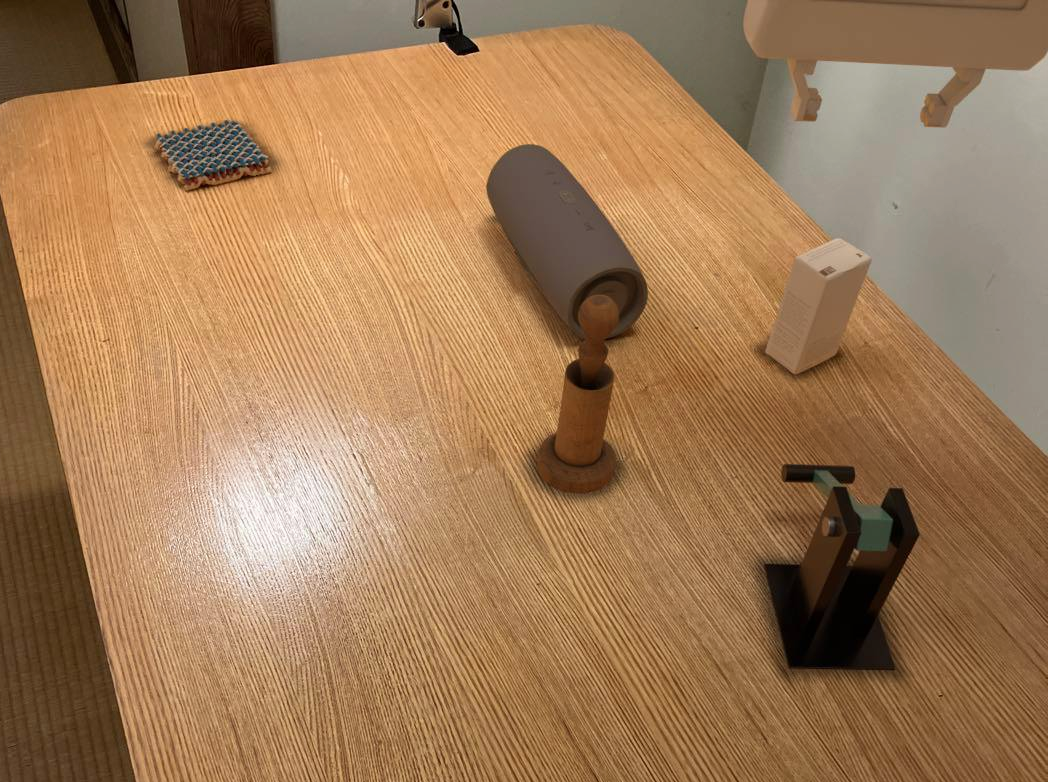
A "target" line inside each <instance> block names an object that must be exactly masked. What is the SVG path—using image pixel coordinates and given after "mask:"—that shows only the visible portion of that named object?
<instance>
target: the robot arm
mask: <svg viewBox="0 0 1048 782" xmlns="http://www.w3.org/2000/svg"><path fill="white" fill-rule="evenodd" d="M742 22H743V23H742V27H743V28H742V29H743V33H744V36H745V39H746V41H747V42H748V44H749V46H750V48H751V50H752V51H753V52H754V54H755V55H756V56H757V57H758V58H761V59H771V60H772V59H775V60H786V63H787V66H788V70H789V73H790V76H791V79H792V83H793V86H794V88H795V90H794V94H793V99H792V102H791V105H790V114H791V117H792V119H793V121H794V122H811V123H812V122H816V121H817V119H818V116H819V115H818V113H817V112H818V111H819V110H820V109H821V105H822V101H823V99H822V97H821V95H820V94H819V90H818V88H817V87H808V83H807V79H806V76H813V74H814V72H815V69H816V66H817V62H819V61H820V62H836V63H837V62H838V63H855V64H856V63H857V64H875V65H876V64H877V65H878V64H879V65H898V66H918V67H941V68H952V70H953V71H954V75H953V76H952V77H951V79H949V81H948V82H947V83H946V84H945V85H944V86H943V87H942V88H941V90H939V92H938V93H929V92H928V93H927V94H926V96H925V99H924V101H923V102H924V103H923V104H924V106H923V107H922V108H921V111H920V115H919V119H920V122H921V123H923V127H925V128H939V129H940V128H944V129H945V128H947V127H948V125H949V121H950V119H951V116H952V114H953V112H954V109H955V107H957V106H958V105H959V104H960V103H961V102H962V101H964V100H965V99H966V98H967V97H968V96H969V94H971V93H972V92H973V91H974V90H975V89H976V88H977V87H978V86H979V85H980V84H981V83H982V80H983V77H984V74H985V72H986V70H1002V71H1021V72H1026V71H1029V70H1031V69H1032V68H1034V67H1035V66H1036V65H1037V64H1039V63H1040V62H1041V61H1042V60H1044V58H1045V57H1046V56H1047V54H1048V0H747V2H746V5H745V10H744V15H743V21H742ZM805 75H806V76H805Z"/></svg>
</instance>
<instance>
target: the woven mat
mask: <svg viewBox="0 0 1048 782" xmlns="http://www.w3.org/2000/svg"><path fill="white" fill-rule="evenodd" d="M223 121H224V124H222V123H218V125H216V123H215V122H211V123H210V126H211V127H212V128H211V127H210V126H204V128H203V126H202V125H201V124H200V125H197V128H198V129H195V128H192V129H191V130H189V128H188V127H185V128H183V131H184V132H185V133H184V132H182V131H177V134H176V132H175V130H170V134H171V135H172V136H171V135H169V134H164V136H163V137H162V135H161V133H159V132H158V133H156V137H157V139H158V140H157V141H156V143H155V145H154V148H155V149H156V150H158V151H161V155H160V157H161V158H162V159H164V160H165V161H167V164H168V166H167V170H168V173H172V174H177V181H178V182H179V183H180V184H182V185H183V188H184V190H186V191H185V192H188V191H190V190H195V189H199V188H200V186H201V185H202V186H204V185H210V186H211V185H213V186H216V185H221V184H224V183H225V182H226V183H229V182H234V180H235V181H237V180H238V179H239V180H240V179H241V177H247V176H248V175H249V176H253V177H256V175H258V176H261V175H260V174H262V175H266V174H265V173H267V174H270V173H269V172H271V173H272V172H273V170H272V167H271V166H268V164H269V160H268V158H269V157H268V155H266V154H264V153H263V152H262V149H259V148H260V145H257V143H255V142H254V141H253V138H252V137H250V135H249V134H247V132H246V131H245V130H244V128H242V125H241V124H240V123H238V121H234V120H232V121H231V123H230V122H229V120H228V119H225V120H223ZM225 125H226V126H225ZM198 130H199V131H198ZM226 183H225V184H226Z"/></svg>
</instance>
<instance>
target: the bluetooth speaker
mask: <svg viewBox="0 0 1048 782" xmlns="http://www.w3.org/2000/svg"><path fill="white" fill-rule="evenodd" d="M577 179H578V178H576V177H575V176H574V175H573V173H572V172H571V171H570V170H569V169H568V168H567V166H566V165H565V164H564V163H563V162H562V161H561V160H560V159H559V158H558V157H557V156H556V155H554V154H553V153H552V152H551V151H550V150H549V149H547V148H546V147H544V146H542V145H539V144H534V143H526V144H521V145H517V146H515V147H512V148H510V149H509V150H507V151H506V152H504V153H503V155H501V156H500V157H499V159H497V161H496V162H495V163H494V165H493V166H492V168H491V170H490V172H489V175H488V178H487V182H486V195H487V198H488V201H489V204H490V206H491V208H492V212H493V214H494V215H495V217H496V219H497V221H498V223H499V225H500V227H501V229H502V231H503V232H504V234H505V236H506V238H507V240H508V241H509V243H510V245H511V247H512V248H513V251H514V254H515V255H516V258H517V260H518V261H519V262H520V264H521V265H522V267H523V268H524V270H525V272H526V273H527V275H528V276H529V278H530V279H531V280H532V281H533V282H534V284H535V285H536V287H537V288H538V289H539V291H540V292H541V294H542V295H543V297H544V298H545V300H546V301H548V303H549V304H550V306H551V307H552V309H553V310H554V311H555V313H556V314H557V315H558V317H559V318H560V319H561V320H562V322H563V323H564V324H565V326H567V327H568V328H569V329H570V330H571V331H572V333H574V334H575V336H576V337H578V338H580V339H582V340H585V339H586V335H585V334H584V332H583V330H582V328H581V326H580V323H579V320H578V313H579V309H580V307H581V305H582V303H583V302H584V301H585V300H586V299H587V298H589V297H590V296H593V295H605V296H608V297H610V298H611V299H612V300H613V301H614V302H615V303H616V305H617V307H618V310H619V321H618V324H617V326H616V327H615V329H614V330H613V331H612V332H611V333H610V334H609V335H608V336H607V337H606V338H605V340H606V339H611V338H614V337H616V336H618V335H621V334H622V333H624V332H626V331H627V330H628V329H630V328H631V327H632V326H633V325H634V324H635V323H636V322H637V321H638V320H639V319H640V317H641V316H642V314H643V312H644V310H645V309H646V306H647V303H648V299H649V290H648V283H647V280H646V279H645V276H644V275H643V271H642V270H641V268H640V266H639V263H637V261H636V259H635V257H634V256H633V254H632V253H631V251H630V250H629V249H628V247H627V245H626V244H625V243H624V241H623V240H622V238H621V237H620V235H619V233H618V232H617V230H616V229H615V228H614V226H613V224H612V223H611V222H610V220H609V219H608V218H607V216H606V215H605V213H604V212H603V211H602V209H601V208H600V207H599V206H598V204H597V203H596V201H595V200H594V199H593V197H591V195H590V194H589V192H588V191H587V190H586V189H585V188H584V187H583V185H582V184H581V183H580V181H578V180H577Z"/></svg>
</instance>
